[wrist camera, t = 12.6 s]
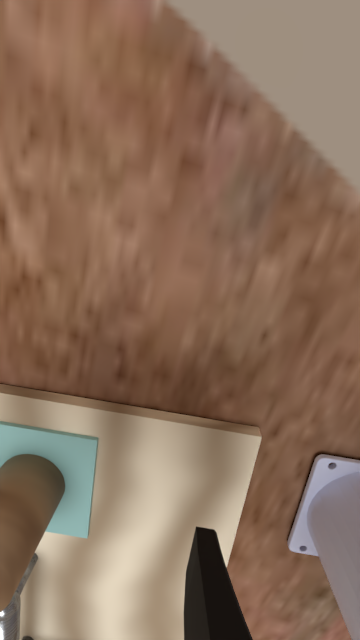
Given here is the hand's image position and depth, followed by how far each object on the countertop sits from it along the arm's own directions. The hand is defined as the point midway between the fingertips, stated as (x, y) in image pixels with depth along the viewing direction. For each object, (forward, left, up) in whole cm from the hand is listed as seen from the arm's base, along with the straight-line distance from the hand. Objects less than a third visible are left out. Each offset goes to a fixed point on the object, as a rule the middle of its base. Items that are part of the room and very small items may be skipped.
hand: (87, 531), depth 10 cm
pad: (+6, +7, -9) cm, 13 cm away
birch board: (+2, +14, -9) cm, 17 cm away
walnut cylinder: (+6, +7, -8) cm, 12 cm away
